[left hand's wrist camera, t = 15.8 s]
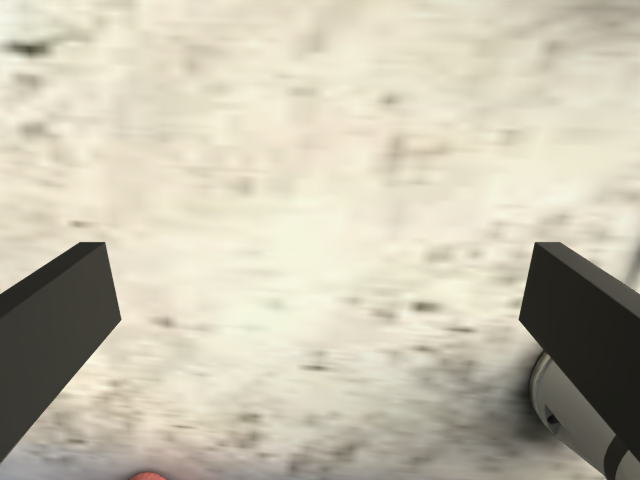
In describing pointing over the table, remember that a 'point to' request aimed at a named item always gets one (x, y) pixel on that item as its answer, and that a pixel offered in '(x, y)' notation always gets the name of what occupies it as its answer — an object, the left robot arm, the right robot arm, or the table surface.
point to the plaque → (147, 476)
